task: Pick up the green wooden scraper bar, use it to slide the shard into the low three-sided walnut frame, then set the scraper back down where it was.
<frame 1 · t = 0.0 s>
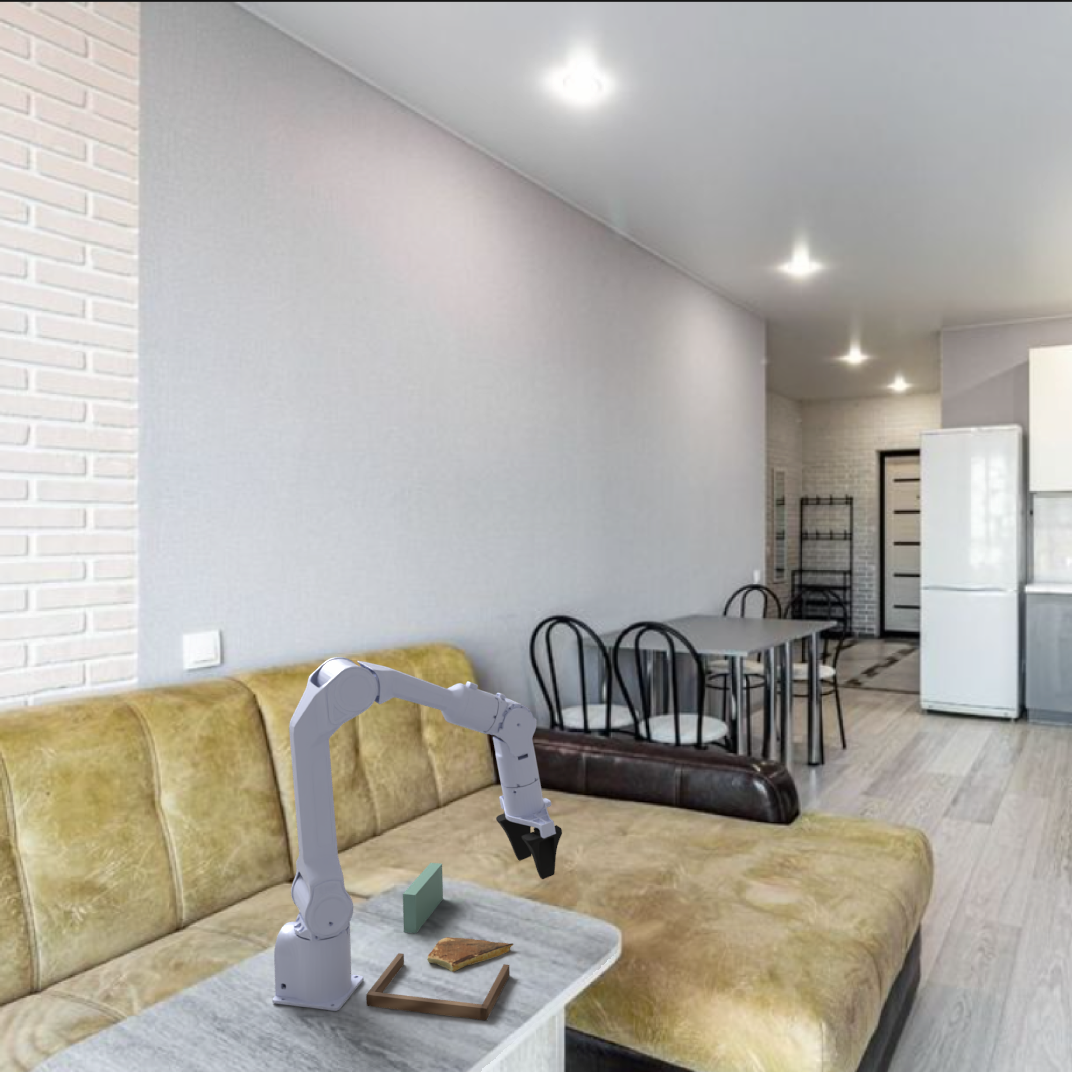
hand: (535, 866, 131), 11 cm above the table, tool pointing down, fingers open, 7 cm apart
walnut frame: (441, 988, 118), on the table
shard: (464, 956, 128), on the table
scraper bar: (424, 915, 140), on the table
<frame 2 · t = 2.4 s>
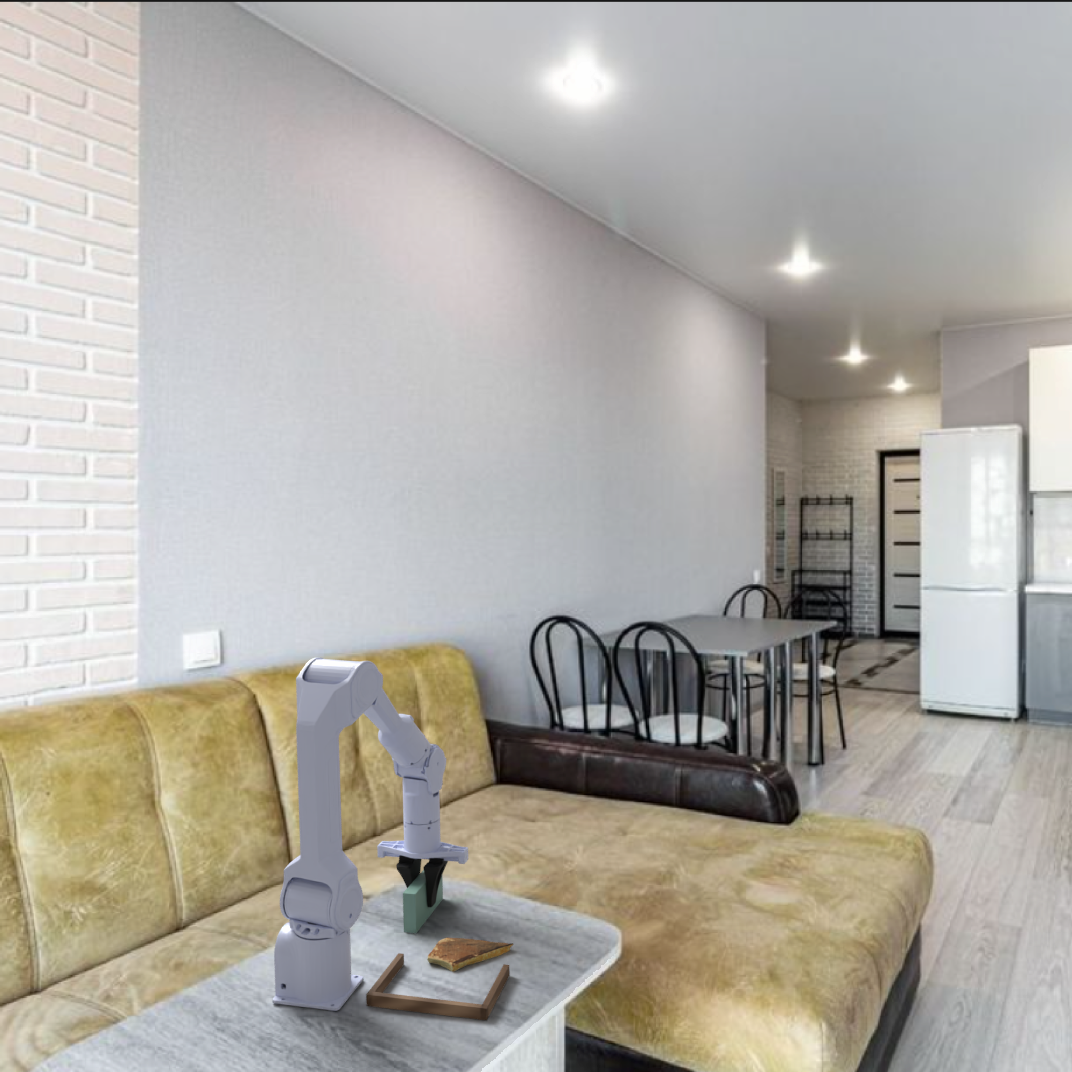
hand: (423, 903, 140), 2 cm above the table, tool pointing down, fingers closed on scraper bar, 2 cm apart
scraper bar: (424, 914, 140), on the table, touching gripper
everything else where it was.
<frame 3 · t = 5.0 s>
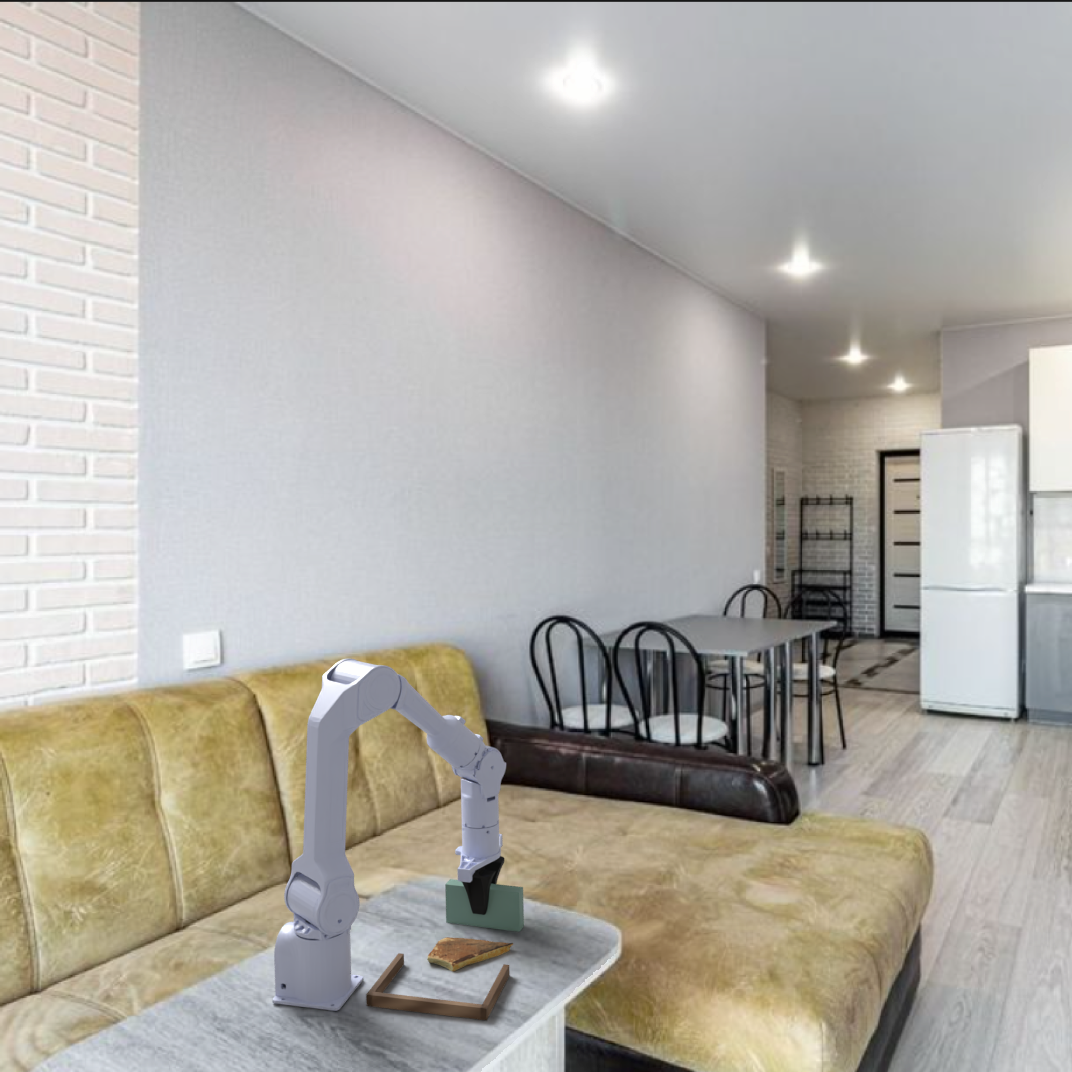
hand: (482, 909, 136), 2 cm above the table, tool pointing down, fingers closed on scraper bar, 2 cm apart
scraper bar: (484, 924, 136), on the table, touching gripper
everything else where it was.
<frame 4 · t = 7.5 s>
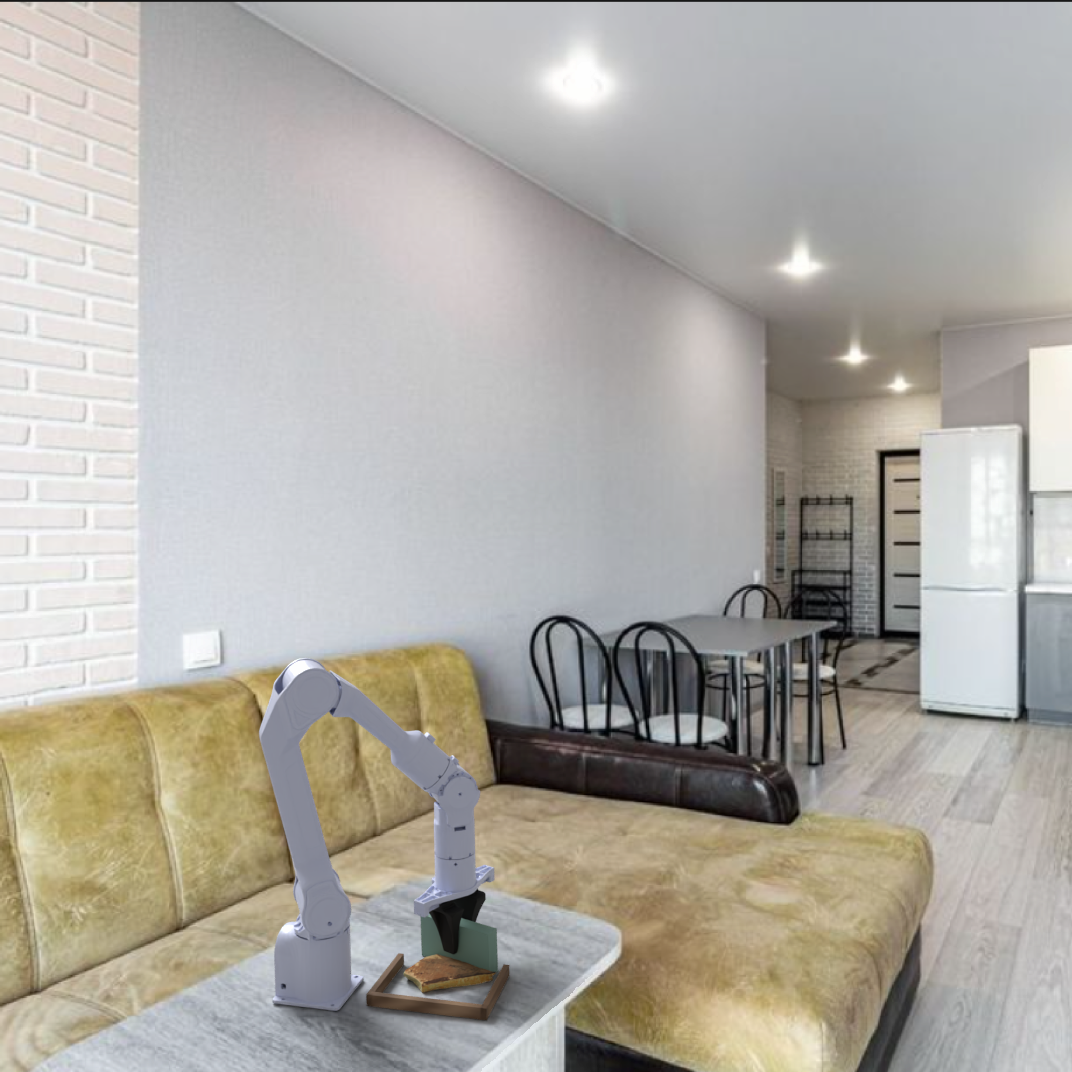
hand: (457, 947, 124), 2 cm above the table, tool pointing down, fingers closed on scraper bar, 2 cm apart
shard: (447, 977, 122), on the table, touching scraper bar
scraper bar: (459, 963, 124), on the table, touching shard, gripper
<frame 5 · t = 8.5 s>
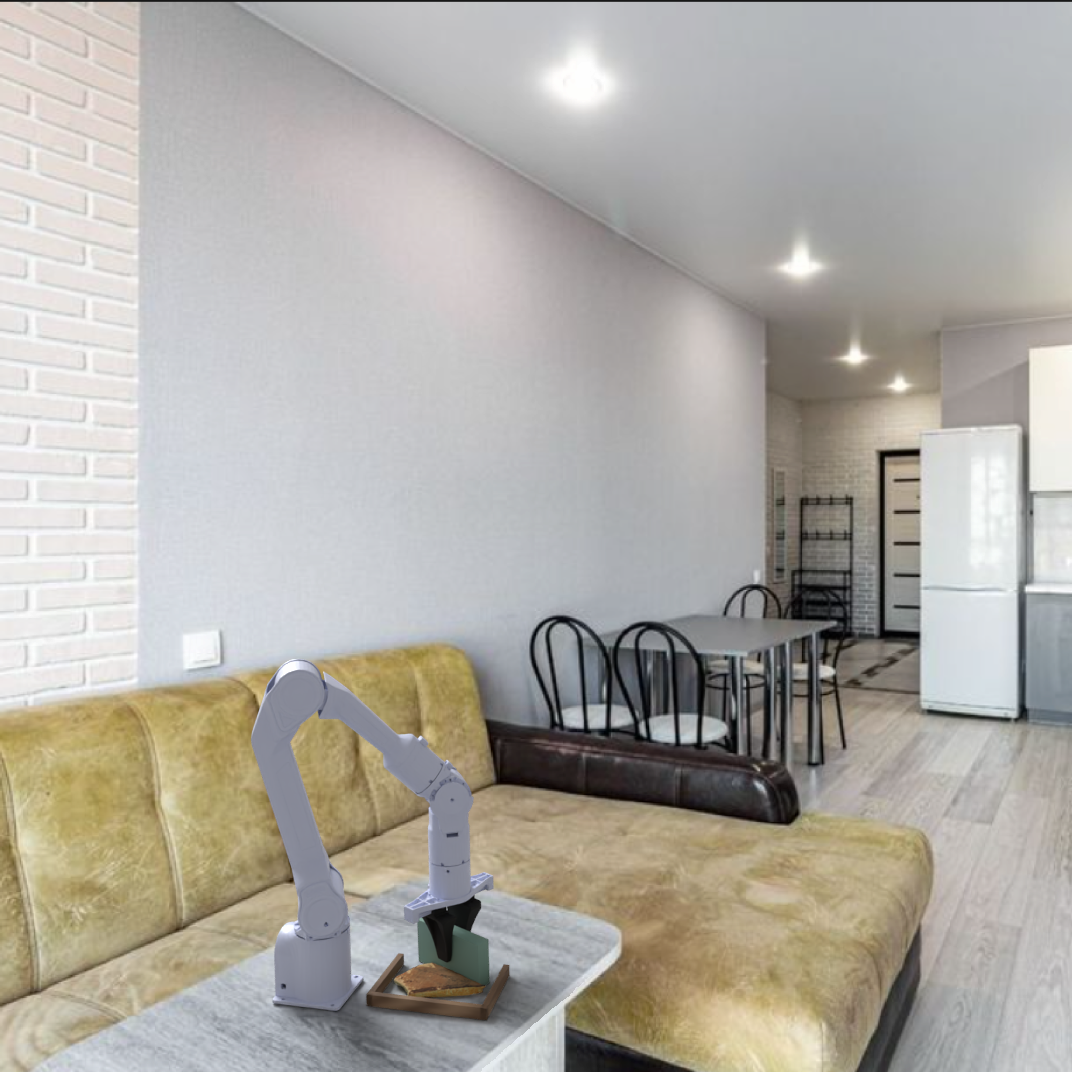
hand: (451, 955, 122), 2 cm above the table, tool pointing down, fingers closed on scraper bar, 2 cm apart
shard: (439, 987, 120), on the table
scraper bar: (453, 971, 122), on the table, touching gripper
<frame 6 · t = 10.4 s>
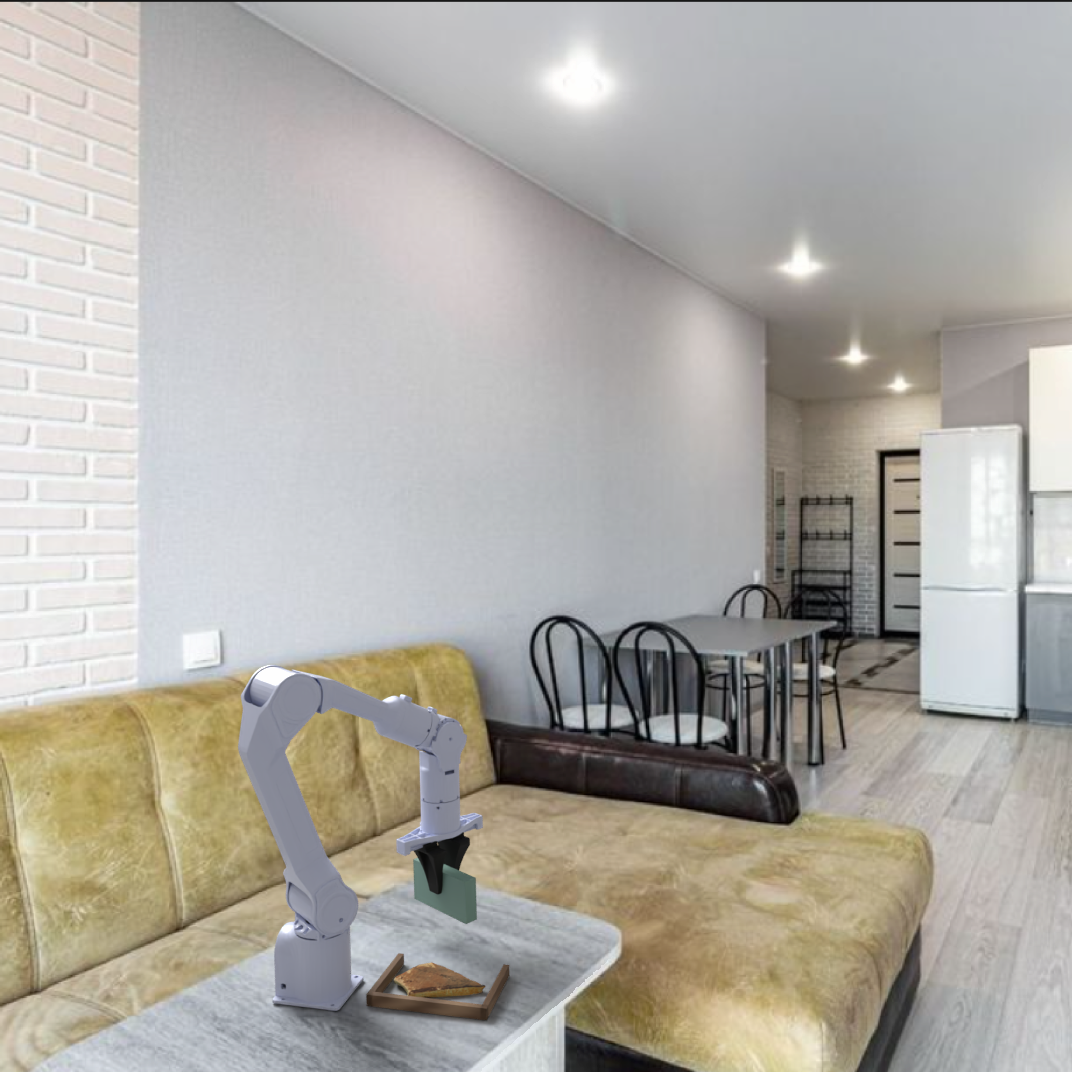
hand: (442, 889, 129), 8 cm above the table, tool pointing down, fingers closed on scraper bar
scraper bar: (444, 908, 129), point 6 cm above the table, touching gripper
everything else where it was.
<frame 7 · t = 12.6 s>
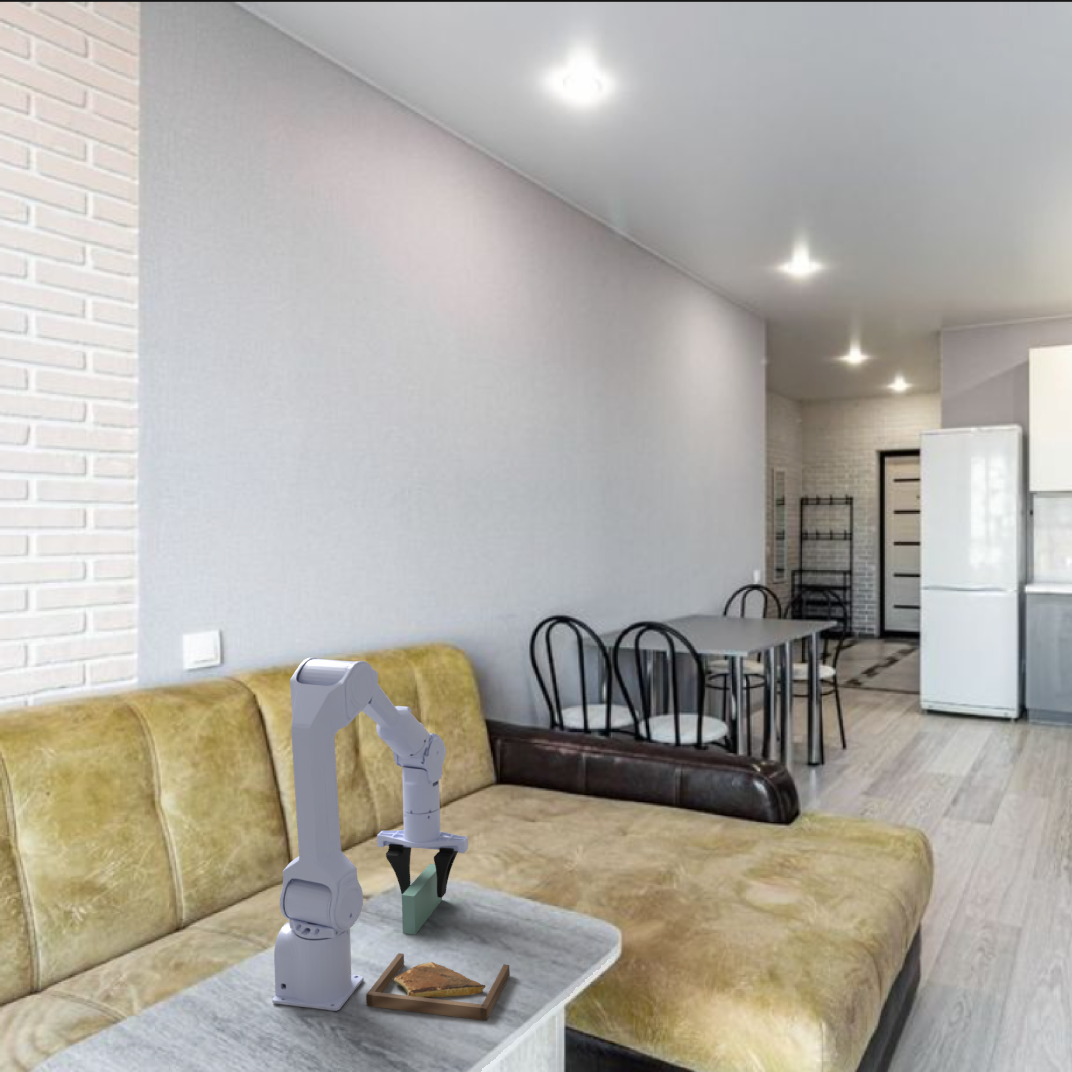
hand: (423, 893, 140), 3 cm above the table, tool pointing down, fingers open, 5 cm apart
scraper bar: (423, 916, 139), on the table
everything else where it was.
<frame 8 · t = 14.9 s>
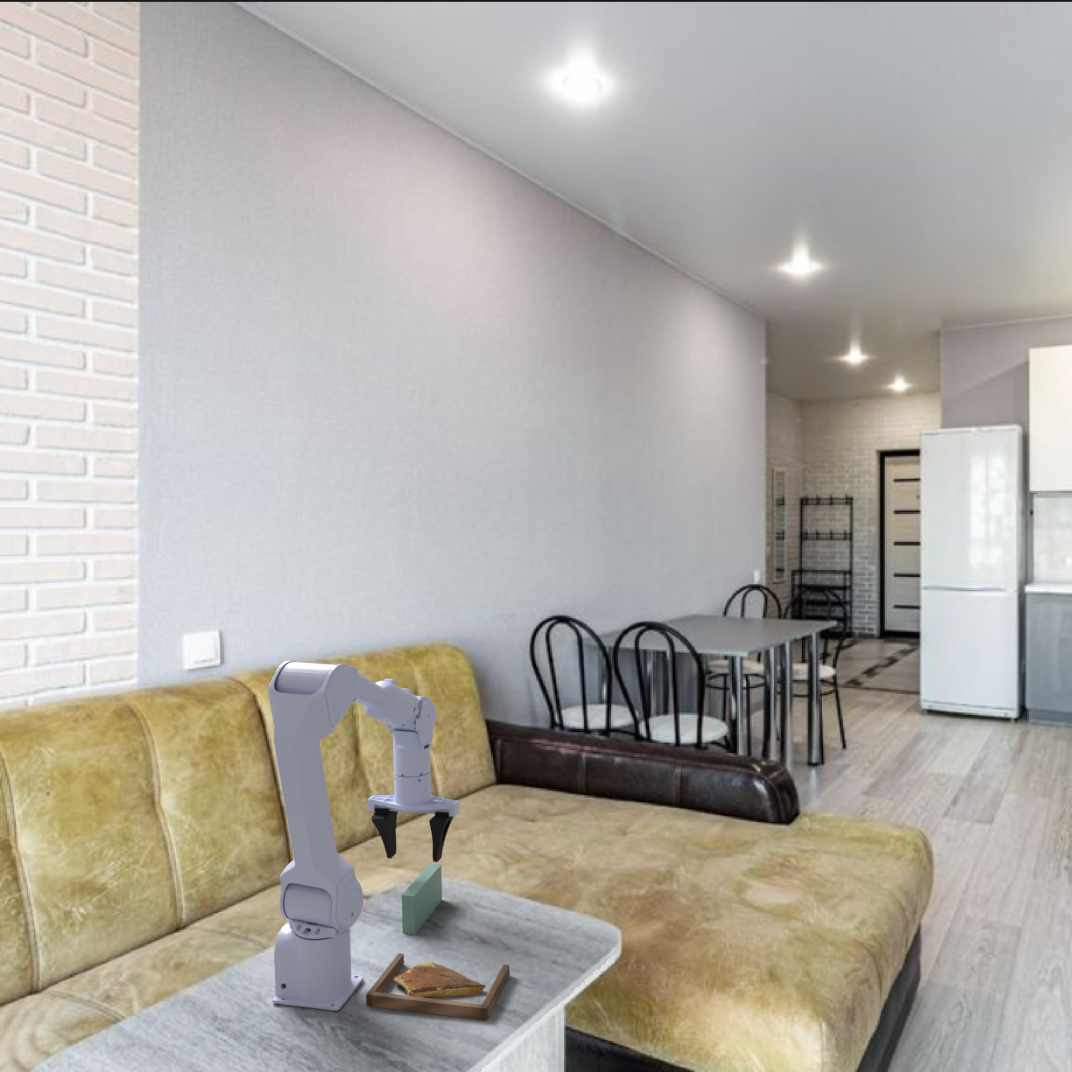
hand: (414, 857, 139), 9 cm above the table, tool pointing down, fingers open, 7 cm apart
nothing on the table moved.
at the end: shard 2.0 cm from the target spot, on the table; scraper bar inside the target area (0.4 cm from its centre), on the table; the gripper is holding nothing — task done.
